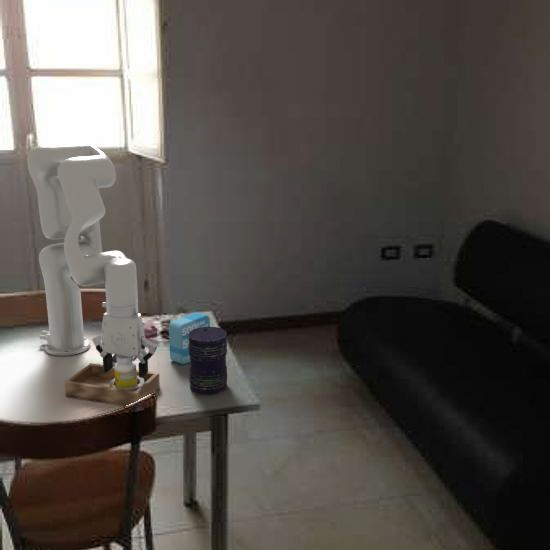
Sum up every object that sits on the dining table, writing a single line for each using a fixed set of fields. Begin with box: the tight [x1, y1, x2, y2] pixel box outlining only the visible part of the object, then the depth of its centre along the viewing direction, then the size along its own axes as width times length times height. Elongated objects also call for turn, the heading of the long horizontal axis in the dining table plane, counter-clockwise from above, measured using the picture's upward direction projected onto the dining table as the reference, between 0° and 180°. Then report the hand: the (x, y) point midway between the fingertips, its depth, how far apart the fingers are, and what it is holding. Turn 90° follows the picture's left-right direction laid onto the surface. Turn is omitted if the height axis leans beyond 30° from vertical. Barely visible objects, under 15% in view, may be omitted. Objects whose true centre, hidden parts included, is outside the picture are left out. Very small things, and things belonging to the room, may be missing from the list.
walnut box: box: [64, 362, 161, 407], centre depth 168 cm, size 20×12×4 cm, turn 74°
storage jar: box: [188, 326, 228, 397], centre depth 170 cm, size 10×10×15 cm
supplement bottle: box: [114, 355, 137, 388], centre depth 166 cm, size 5×5×10 cm
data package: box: [168, 311, 211, 365], centre depth 188 cm, size 12×4×12 cm, turn 142°
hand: (125, 372), depth 166 cm, fingers open, 9 cm apart
